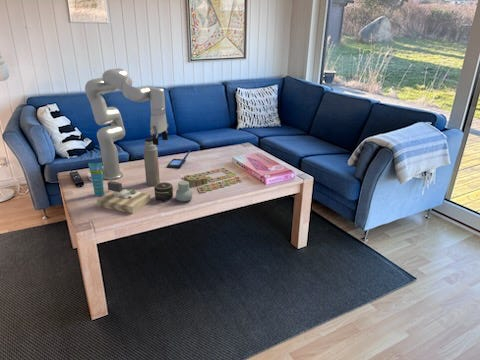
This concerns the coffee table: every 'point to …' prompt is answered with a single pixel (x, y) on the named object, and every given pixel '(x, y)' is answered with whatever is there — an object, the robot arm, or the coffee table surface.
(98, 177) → the tube
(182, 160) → the handheld game console
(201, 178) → the pile of dominoes
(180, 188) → the pale green rounded vessel
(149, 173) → the thermos bottle
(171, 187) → the jar
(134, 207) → the tan flat box
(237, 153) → the coffee table surface
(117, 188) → the peg
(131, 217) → the coffee table surface
